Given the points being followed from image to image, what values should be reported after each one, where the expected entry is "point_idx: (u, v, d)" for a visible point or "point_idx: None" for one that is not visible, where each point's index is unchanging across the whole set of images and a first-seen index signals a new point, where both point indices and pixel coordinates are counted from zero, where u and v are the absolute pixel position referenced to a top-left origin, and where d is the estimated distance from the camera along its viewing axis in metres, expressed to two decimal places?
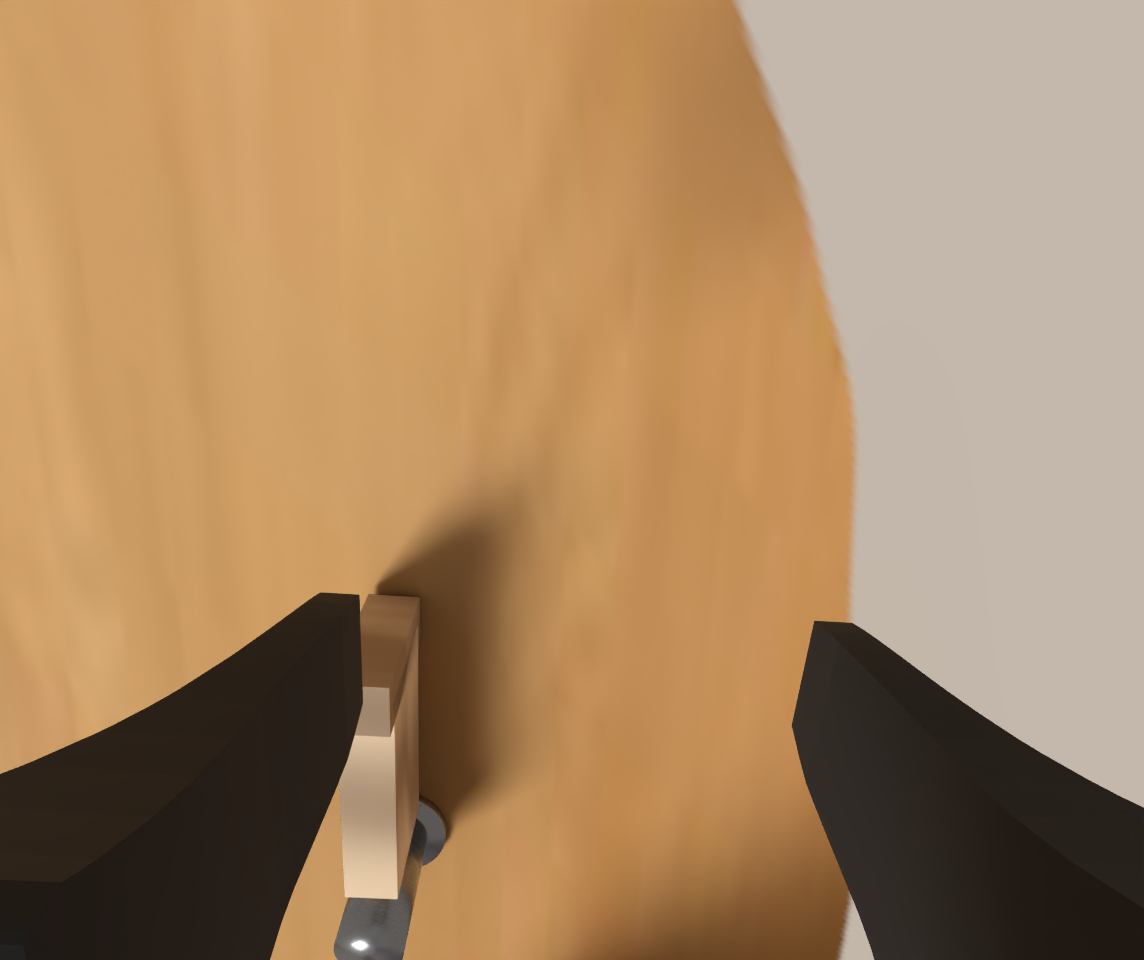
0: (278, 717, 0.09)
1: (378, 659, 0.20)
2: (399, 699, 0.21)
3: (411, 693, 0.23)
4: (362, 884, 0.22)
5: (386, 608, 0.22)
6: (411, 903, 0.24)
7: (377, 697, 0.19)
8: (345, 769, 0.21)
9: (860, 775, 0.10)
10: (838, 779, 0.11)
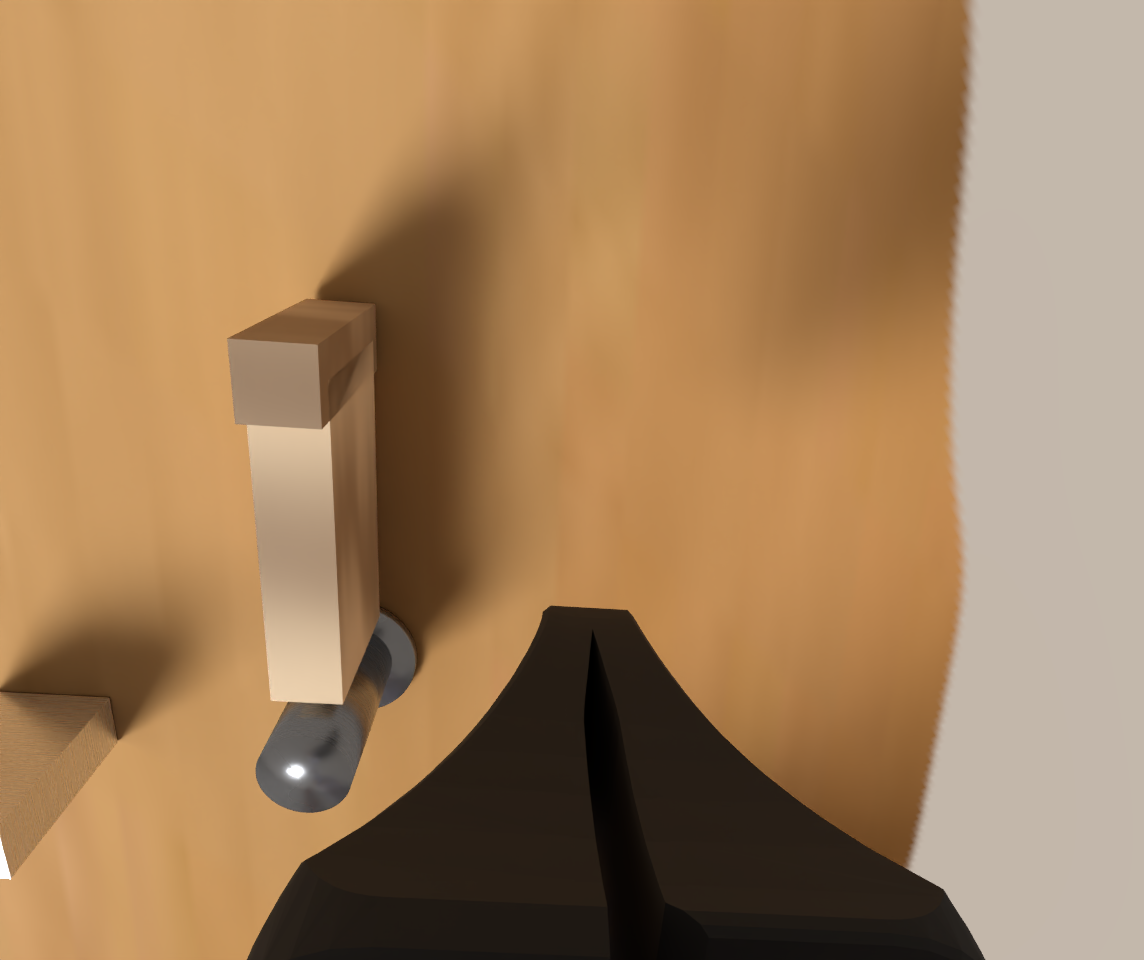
0: None
1: (307, 329, 0.14)
2: (339, 398, 0.15)
3: (362, 426, 0.17)
4: (294, 681, 0.16)
5: (327, 306, 0.16)
6: (365, 725, 0.18)
7: (301, 361, 0.13)
8: (263, 496, 0.15)
9: (596, 762, 0.10)
10: (589, 766, 0.11)
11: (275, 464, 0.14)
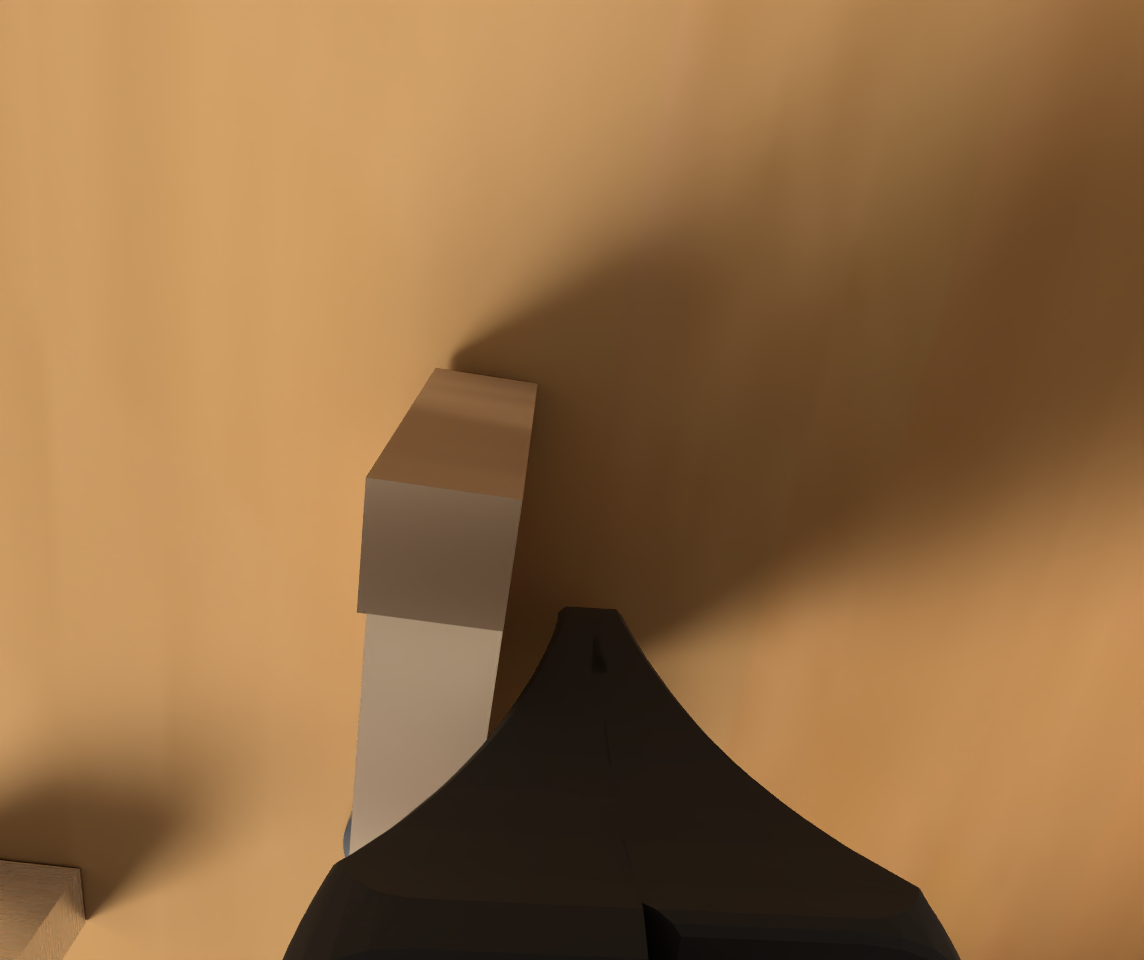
0: None
1: (481, 452, 0.09)
2: None
3: None
4: None
5: (475, 388, 0.11)
6: None
7: (488, 524, 0.08)
8: (376, 708, 0.09)
9: None
10: None
11: (404, 663, 0.09)
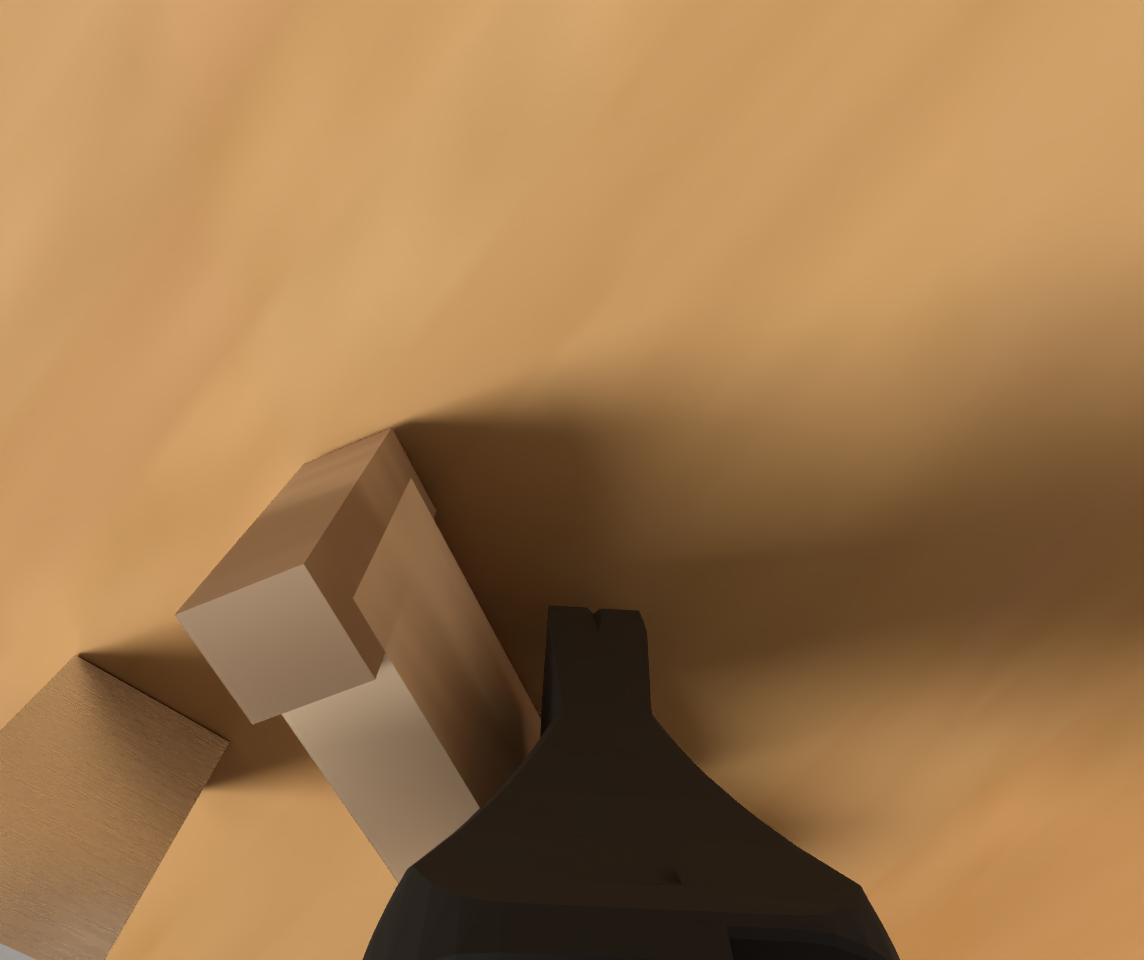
0: None
1: (294, 531, 0.09)
2: (388, 603, 0.09)
3: (448, 603, 0.11)
4: None
5: (329, 465, 0.11)
6: None
7: (293, 598, 0.08)
8: (350, 789, 0.09)
9: None
10: None
11: (343, 741, 0.09)
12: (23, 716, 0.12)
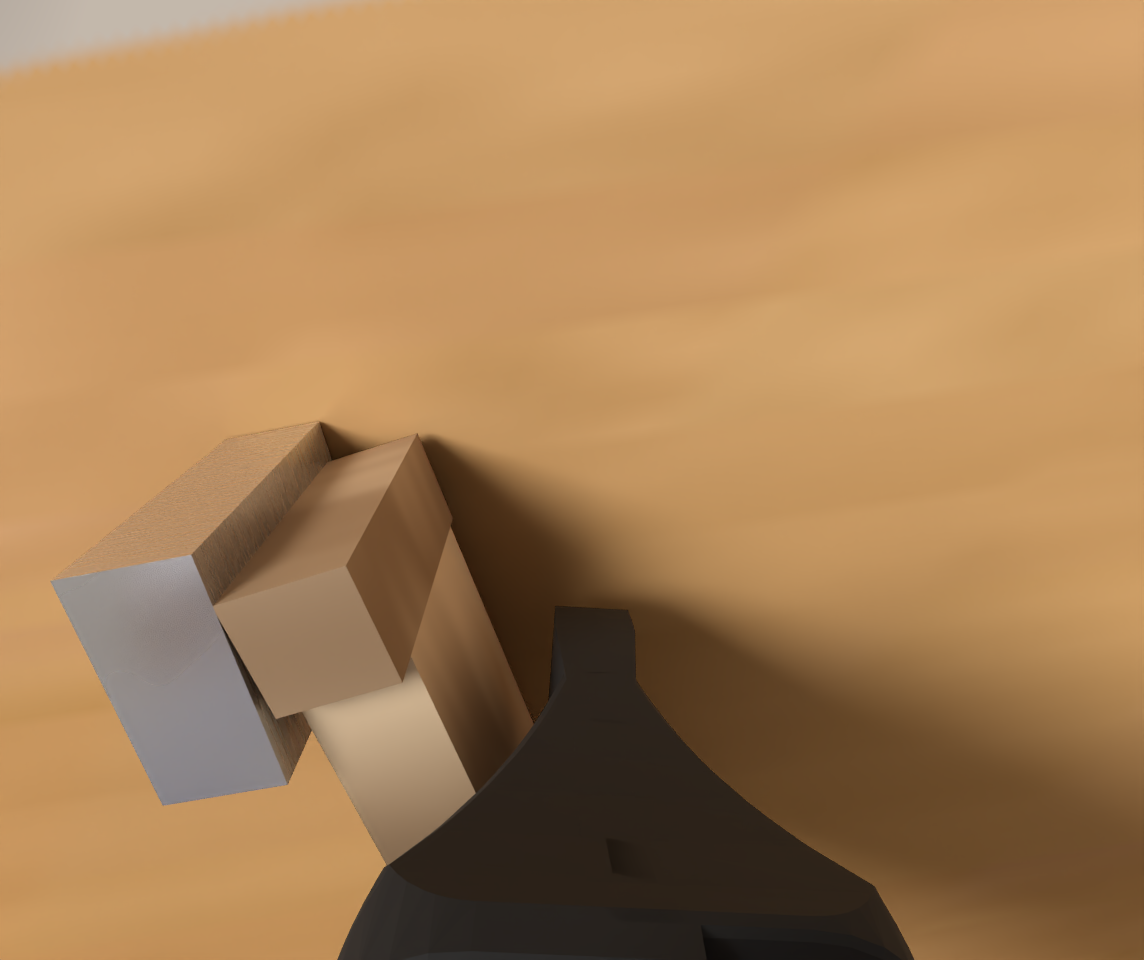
0: None
1: (329, 532, 0.09)
2: (413, 607, 0.09)
3: (462, 610, 0.11)
4: None
5: (354, 466, 0.11)
6: None
7: (331, 598, 0.08)
8: (360, 787, 0.10)
9: None
10: None
11: (358, 740, 0.09)
12: (290, 461, 0.11)
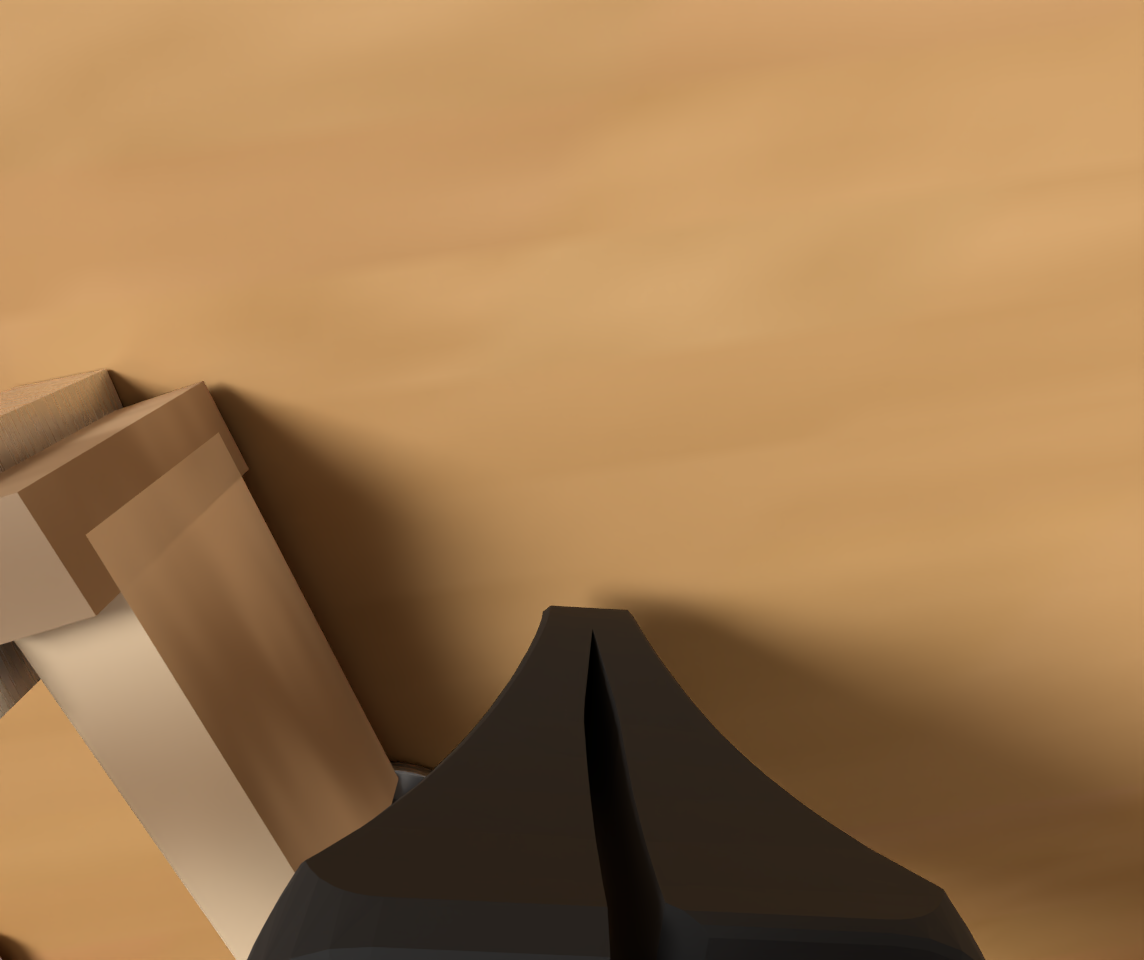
0: None
1: (42, 466, 0.09)
2: (141, 546, 0.09)
3: (239, 558, 0.11)
4: None
5: (128, 412, 0.11)
6: None
7: (9, 527, 0.08)
8: (91, 728, 0.10)
9: (596, 762, 0.10)
10: (589, 766, 0.11)
11: (82, 679, 0.09)
12: (47, 403, 0.11)
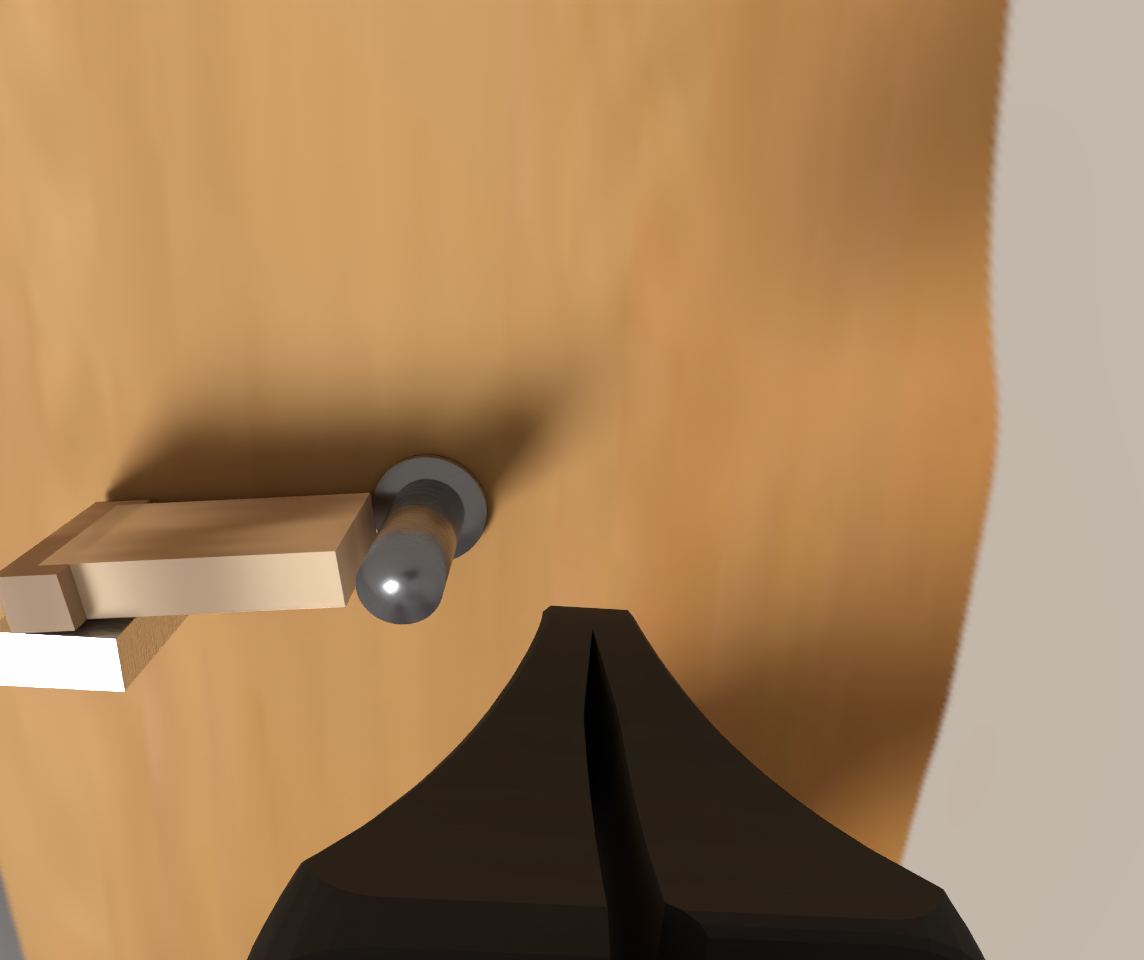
0: None
1: None
2: (76, 551, 0.19)
3: (156, 519, 0.21)
4: (320, 589, 0.19)
5: None
6: (450, 552, 0.19)
7: (8, 588, 0.18)
8: (149, 609, 0.19)
9: (596, 762, 0.10)
10: (589, 766, 0.11)
11: (119, 600, 0.19)
12: None
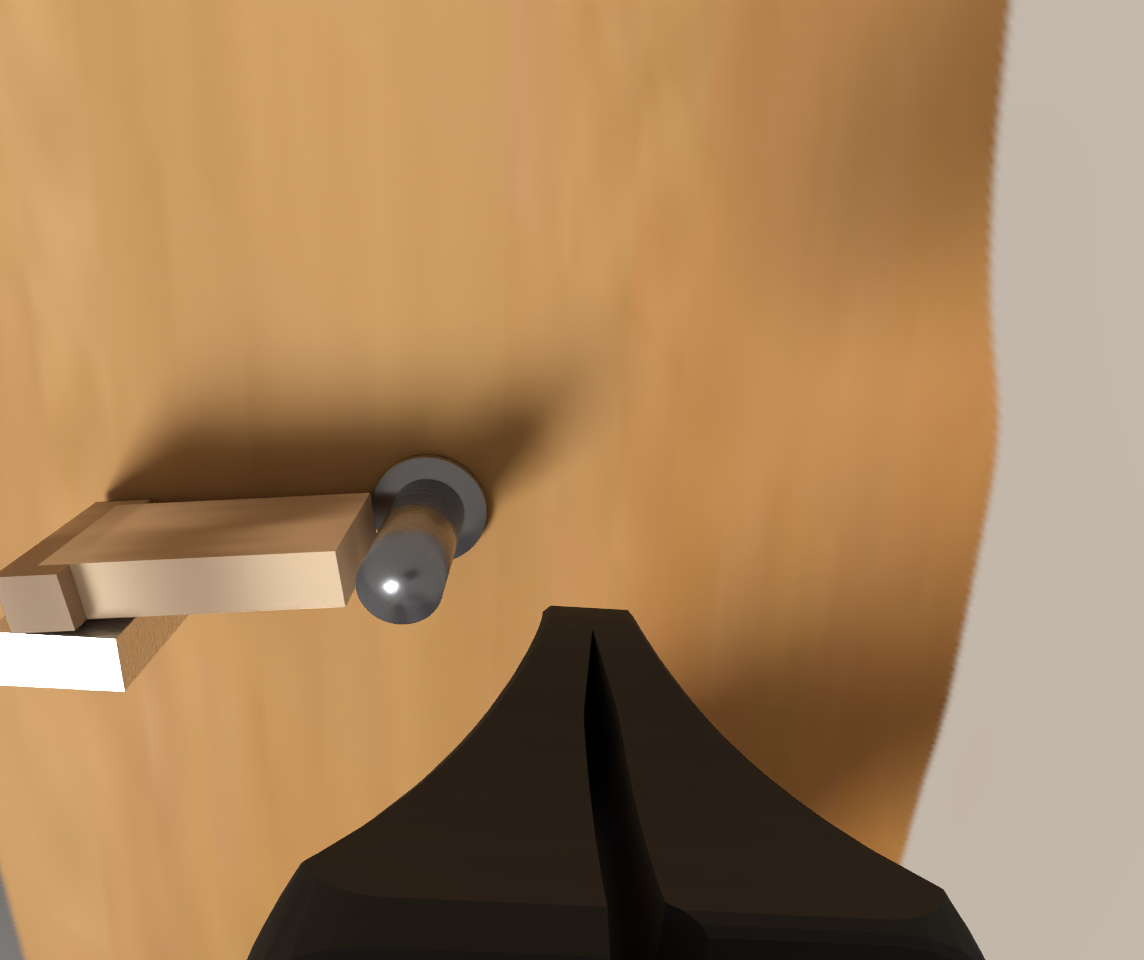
0: None
1: None
2: (76, 551, 0.19)
3: (156, 519, 0.21)
4: (320, 589, 0.19)
5: None
6: (450, 552, 0.19)
7: (8, 588, 0.18)
8: (149, 609, 0.19)
9: (596, 762, 0.10)
10: (589, 766, 0.11)
11: (119, 600, 0.19)
12: None
